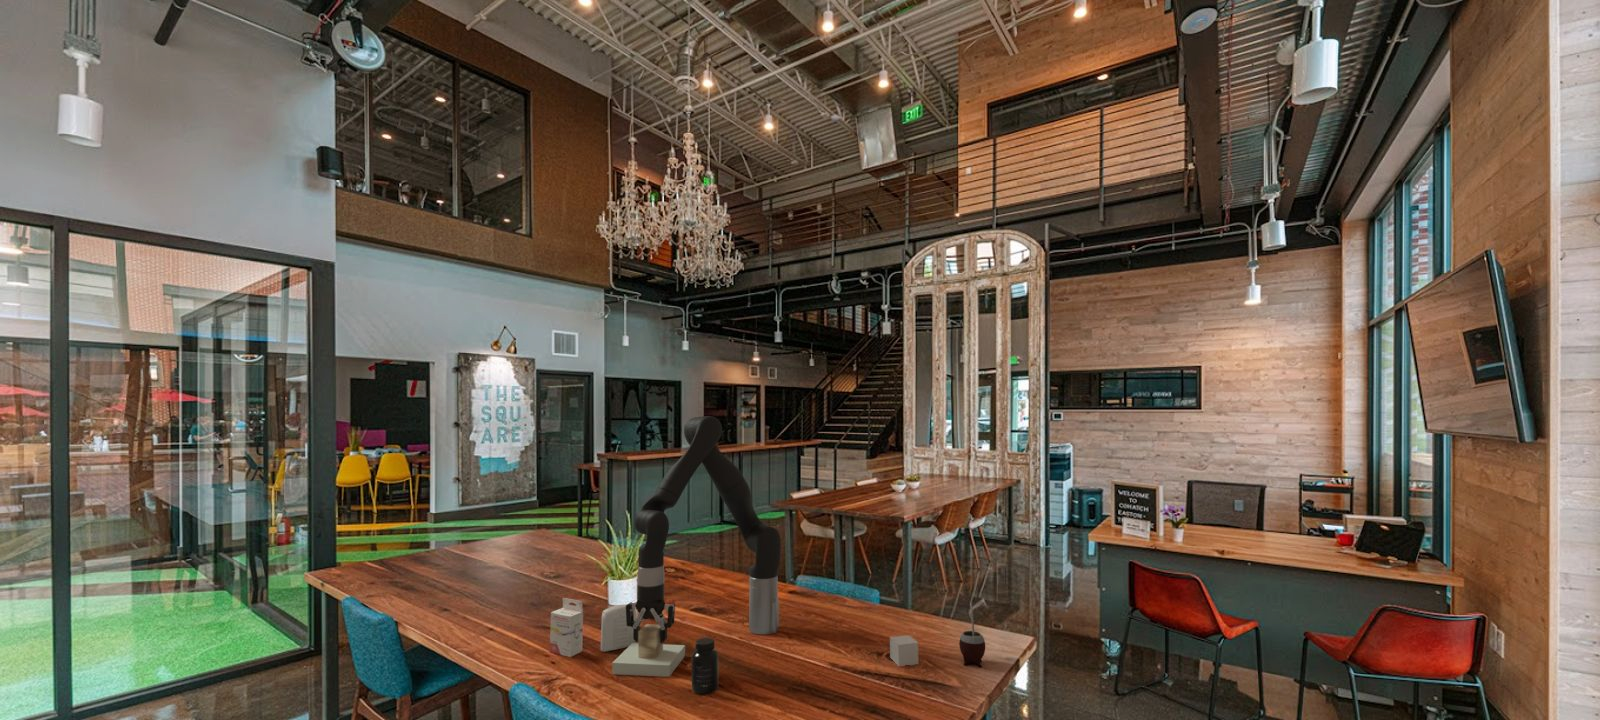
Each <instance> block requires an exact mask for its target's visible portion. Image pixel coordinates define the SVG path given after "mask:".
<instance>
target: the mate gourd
mask: <svg viewBox="0 0 1600 720" xmlns="http://www.w3.org/2000/svg"><path fill="white" fill-rule="evenodd" d="M969 607H970V617H971V630H966V631H963V632H962V633H961V635H960V636H959V642H958V644H959V645H958V646H959V651H960V653H961V655H962V657H963V666H964V667H968V666H971V665H973V666H974V667H977V668H978V669H980V668H982V665H981V663H982V661H983V660H982V659H983V657H984V655H985V653H986V642H985V638H984V635H982V633H980V632H978V631H976V630H975V621H974V619H975V618H974V615H975V614H974V608H973V602H972V601H971V602H969Z"/></svg>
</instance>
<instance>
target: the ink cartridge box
mask: <svg viewBox="0 0 1600 720" xmlns="http://www.w3.org/2000/svg"><path fill="white" fill-rule="evenodd" d="M572 603H573V604H575V605H573V604H572ZM571 604H572V605H571ZM583 622H584V610H583V602H582V601H581V600H576V599H572V598H566V597H563V598H562V607H561V608H558V609H556V610H553V611H551V612H550V633H549V634H550V636H549V637H550V638H549V653H551V654H555V655H560V656H564V657H569V658H572V657H574V656H576V655H577V654H579V653H582V652H583V638H584V637H583V633H584V631H583V630H584V625H583V624H584V623H583Z"/></svg>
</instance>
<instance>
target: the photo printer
mask: <svg viewBox="0 0 1600 720" xmlns="http://www.w3.org/2000/svg"><path fill="white" fill-rule="evenodd" d="M627 604H628V603H627ZM627 604H624V603H623V604H616V605H614V606H613V605H612V606H610V607H608V608H605V609H604V610H603V611H602V614H601V626H600V627H601V630H600V632H601V634H600V651H601V652H604V653H605V652H610V651H615V650H619V649H624V648H628V647H629V646H630V645H631V644H632V643H636V642H635V640H634V639H633V628H632V627H631V626H629V627H628V626H627V623H626V605H627ZM636 611H637V610H636V609H635V610H634V611H633V612H634V621H636V619H637V617H636Z"/></svg>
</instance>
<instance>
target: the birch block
mask: <svg viewBox="0 0 1600 720" xmlns="http://www.w3.org/2000/svg"><path fill="white" fill-rule="evenodd" d="M660 630H661V628H660V626H659V624H658V623H657V624H653V623H645V625H644V626H643V627H642V628H641V630H640V631H639V641H638V642H637V643H638V658H656V657H657V656H658V655H659V654H660V653H661V652H662V650H663V644H664V643H660Z"/></svg>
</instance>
